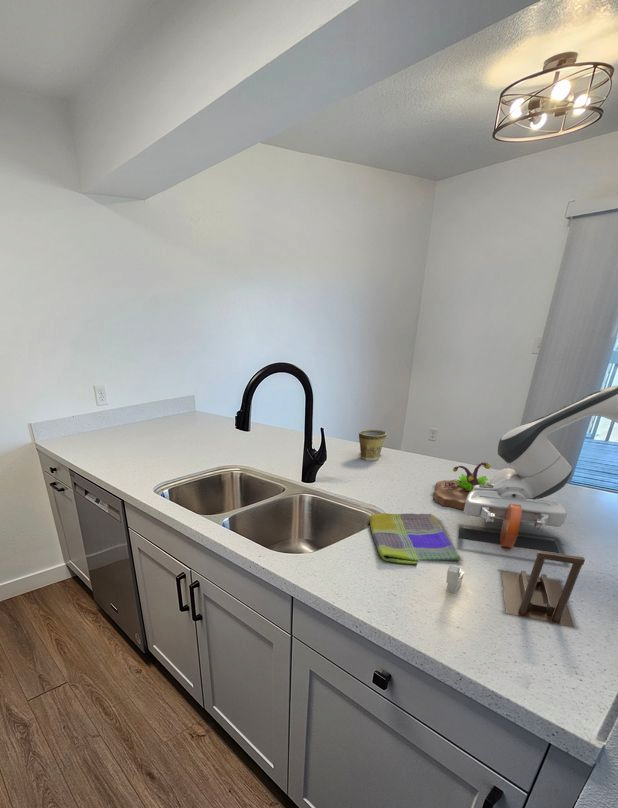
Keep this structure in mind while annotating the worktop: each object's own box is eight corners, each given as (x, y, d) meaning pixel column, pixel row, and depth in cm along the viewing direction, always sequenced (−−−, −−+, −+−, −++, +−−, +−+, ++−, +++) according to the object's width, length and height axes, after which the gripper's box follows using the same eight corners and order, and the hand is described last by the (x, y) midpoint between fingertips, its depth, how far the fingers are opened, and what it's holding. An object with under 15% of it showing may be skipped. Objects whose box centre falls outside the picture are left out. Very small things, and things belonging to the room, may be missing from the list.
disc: (508, 536, 106) (519, 498, 101) (511, 555, 98) (523, 515, 93) (498, 535, 106) (509, 497, 102) (501, 553, 99) (512, 514, 94)
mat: (554, 542, 103) (555, 540, 103) (564, 571, 92) (565, 568, 92) (459, 529, 112) (459, 527, 111) (458, 554, 101) (458, 551, 100)
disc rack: (557, 586, 87) (580, 523, 81) (572, 633, 75) (600, 563, 69) (499, 575, 92) (517, 516, 85) (504, 618, 79) (525, 552, 73)
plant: (510, 516, 117) (521, 477, 111) (430, 506, 125) (437, 468, 120) (507, 491, 132) (517, 455, 127) (436, 483, 141) (443, 449, 136)
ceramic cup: (383, 462, 163) (386, 436, 158) (355, 461, 166) (357, 435, 162) (384, 453, 173) (387, 428, 169) (357, 452, 177) (360, 427, 172)
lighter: (450, 586, 89) (458, 552, 86) (459, 589, 88) (468, 555, 85) (440, 602, 85) (447, 567, 81) (449, 606, 84) (458, 570, 80)
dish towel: (376, 563, 99) (378, 552, 98) (368, 519, 120) (369, 510, 119) (461, 568, 95) (463, 557, 94) (436, 522, 116) (438, 512, 115)
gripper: (557, 518, 106) (567, 542, 95) (462, 506, 115) (461, 527, 104) (565, 494, 103) (576, 516, 92) (467, 484, 112) (467, 503, 101)
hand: (514, 522), depth 98 cm, fingers open, 8 cm apart
